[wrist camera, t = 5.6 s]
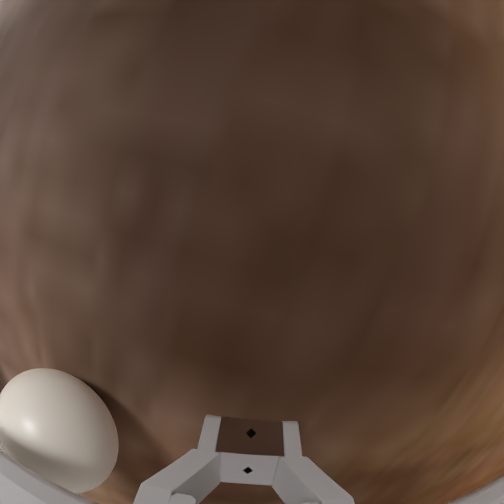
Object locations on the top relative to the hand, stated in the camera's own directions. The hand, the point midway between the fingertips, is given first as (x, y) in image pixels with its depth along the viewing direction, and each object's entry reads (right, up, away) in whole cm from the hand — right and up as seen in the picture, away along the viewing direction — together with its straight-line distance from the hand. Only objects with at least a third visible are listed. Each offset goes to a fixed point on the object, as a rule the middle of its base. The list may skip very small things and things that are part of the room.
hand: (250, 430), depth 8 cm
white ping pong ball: (-8, -1, -1) cm, 8 cm away
